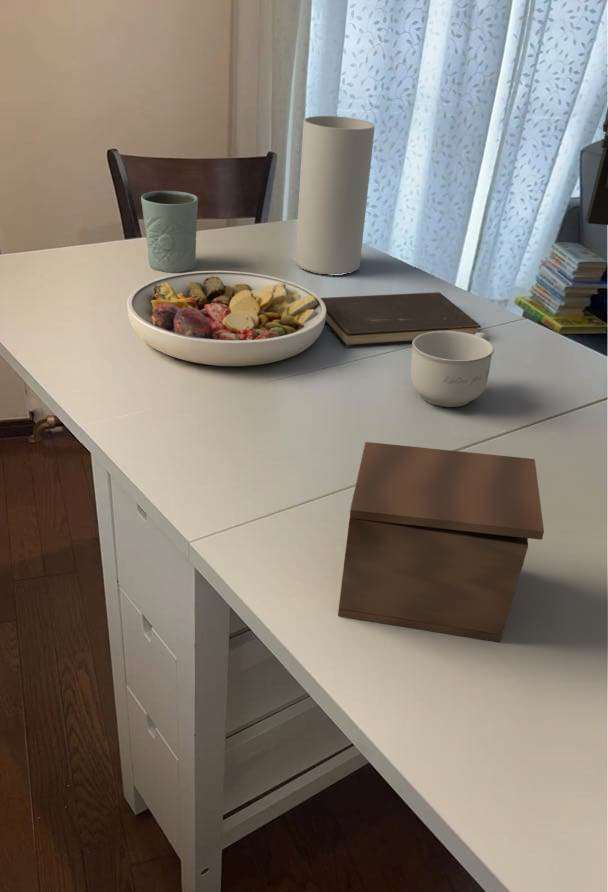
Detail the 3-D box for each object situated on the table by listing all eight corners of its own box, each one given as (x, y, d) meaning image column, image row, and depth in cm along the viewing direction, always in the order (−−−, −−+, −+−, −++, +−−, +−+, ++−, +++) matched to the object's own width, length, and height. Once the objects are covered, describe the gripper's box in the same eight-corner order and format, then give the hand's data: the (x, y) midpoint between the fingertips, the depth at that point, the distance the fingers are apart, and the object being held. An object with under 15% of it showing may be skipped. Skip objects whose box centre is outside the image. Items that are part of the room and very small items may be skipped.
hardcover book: (478, 339, 129) (481, 325, 128) (345, 348, 123) (346, 333, 121) (436, 303, 141) (438, 290, 140) (313, 310, 135) (314, 296, 134)
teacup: (442, 422, 105) (453, 365, 100) (388, 390, 112) (396, 335, 107) (513, 399, 112) (527, 345, 107) (459, 370, 119) (469, 318, 114)
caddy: (497, 563, 81) (521, 472, 75) (500, 642, 72) (528, 545, 65) (352, 541, 82) (364, 449, 76) (337, 616, 73) (349, 518, 67)
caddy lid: (533, 466, 74) (534, 458, 74) (542, 540, 65) (544, 531, 64) (364, 449, 76) (365, 441, 75) (349, 518, 66) (350, 509, 66)
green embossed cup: (164, 277, 143) (161, 207, 136) (133, 261, 149) (129, 193, 142) (210, 267, 149) (209, 199, 142) (178, 253, 155) (176, 187, 148)
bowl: (183, 288, 139) (182, 242, 135) (347, 320, 132) (352, 272, 128) (91, 350, 116) (86, 297, 111) (284, 392, 109) (287, 337, 104)
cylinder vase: (326, 281, 147) (338, 131, 132) (281, 262, 154) (288, 118, 140) (372, 269, 154) (389, 126, 140) (328, 252, 162) (339, 114, 147)
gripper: (618, -92, 67) (553, 202, 81) (651, -102, 57) (569, 238, 71) (710, -87, 67) (628, 208, 81) (760, -96, 56) (656, 245, 70)
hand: (601, 222), depth 76 cm, fingers closed
